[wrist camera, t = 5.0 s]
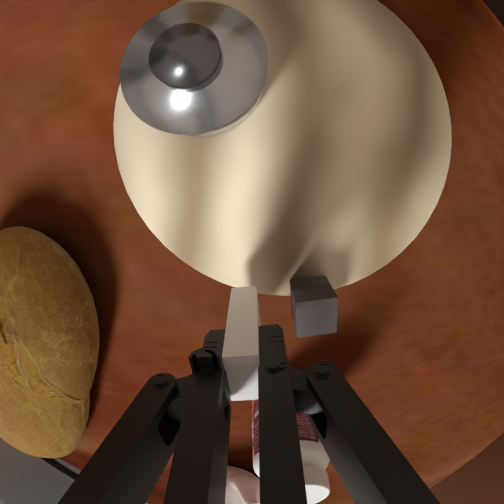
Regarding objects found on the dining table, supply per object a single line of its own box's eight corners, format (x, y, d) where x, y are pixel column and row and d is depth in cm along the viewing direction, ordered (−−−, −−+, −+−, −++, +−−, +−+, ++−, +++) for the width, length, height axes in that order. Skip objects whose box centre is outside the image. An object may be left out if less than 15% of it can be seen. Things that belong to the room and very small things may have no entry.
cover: (152, 147, 16) (112, 147, 11) (143, 43, 14) (106, 11, 9) (271, 130, 16) (279, 121, 11) (257, 23, 14) (259, -22, 9)
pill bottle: (239, 397, 27) (234, 498, 16) (290, 366, 25) (306, 474, 15) (278, 424, 28) (286, 515, 17) (327, 397, 27) (350, 492, 16)
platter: (156, 314, 21) (139, 347, 17) (115, 7, 14) (89, -15, 10) (436, 282, 21) (464, 306, 17) (415, -7, 13) (441, -27, 9)
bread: (135, 265, 22) (74, 337, 13) (86, 450, 33) (66, 499, 23) (-11, 180, 20) (-87, 203, 10) (-7, 391, 30) (-35, 429, 20)
